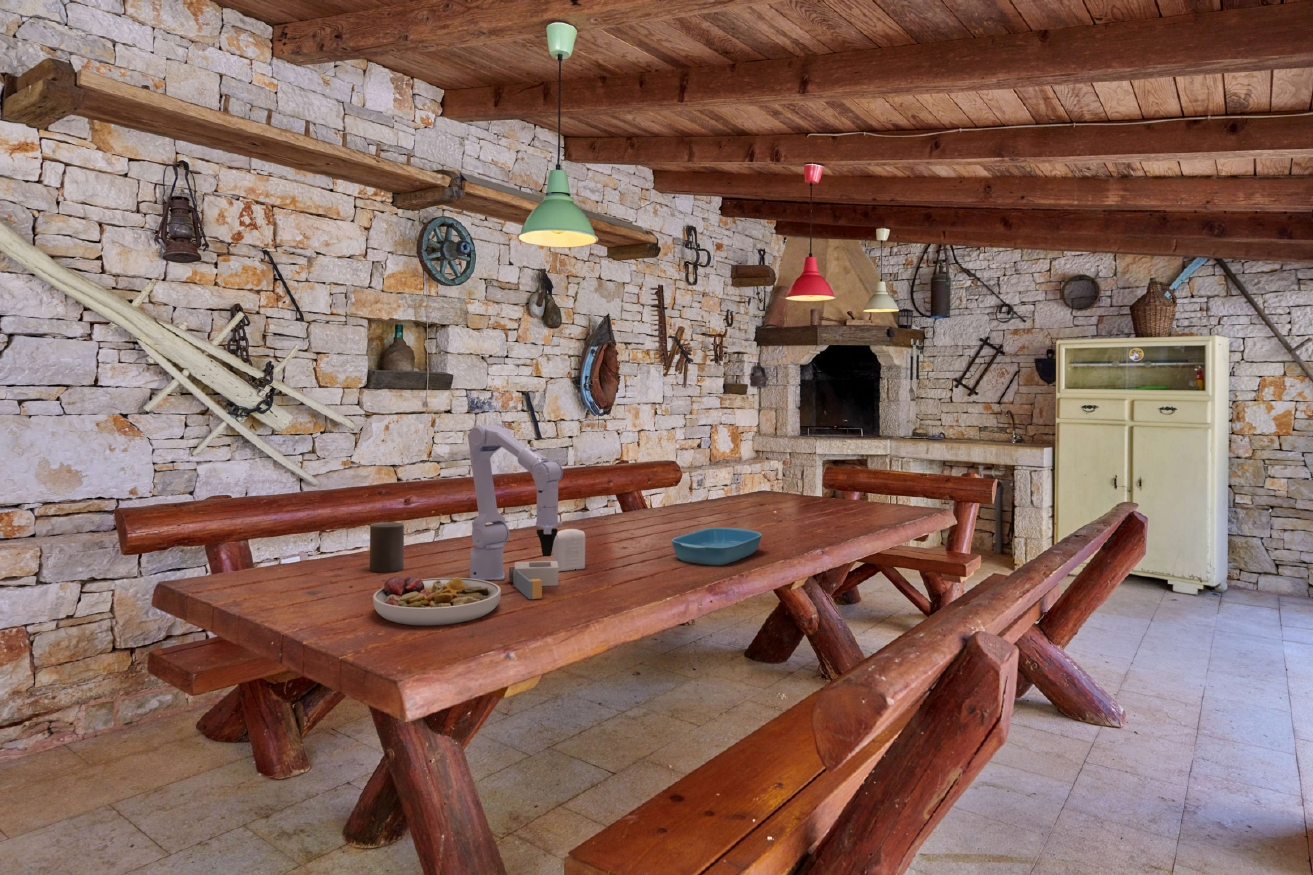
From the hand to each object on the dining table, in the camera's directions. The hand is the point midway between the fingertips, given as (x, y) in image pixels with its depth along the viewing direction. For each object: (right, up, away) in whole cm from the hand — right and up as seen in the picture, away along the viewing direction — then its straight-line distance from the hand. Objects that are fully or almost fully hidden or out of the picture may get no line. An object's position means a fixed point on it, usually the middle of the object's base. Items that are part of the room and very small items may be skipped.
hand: (546, 555), depth 214 cm
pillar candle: (-51, -8, +23) cm, 56 cm away
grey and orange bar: (-5, -9, -3) cm, 11 cm away
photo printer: (+3, -8, +26) cm, 27 cm away
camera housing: (-4, -9, +9) cm, 13 cm away
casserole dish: (+50, -8, +48) cm, 70 cm away
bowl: (-24, -11, -21) cm, 34 cm away
